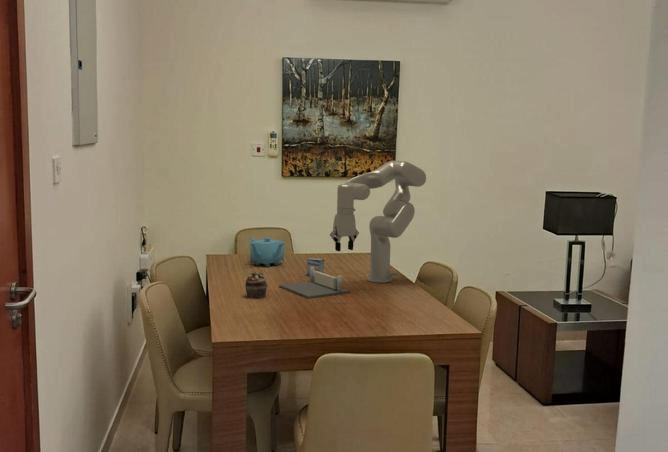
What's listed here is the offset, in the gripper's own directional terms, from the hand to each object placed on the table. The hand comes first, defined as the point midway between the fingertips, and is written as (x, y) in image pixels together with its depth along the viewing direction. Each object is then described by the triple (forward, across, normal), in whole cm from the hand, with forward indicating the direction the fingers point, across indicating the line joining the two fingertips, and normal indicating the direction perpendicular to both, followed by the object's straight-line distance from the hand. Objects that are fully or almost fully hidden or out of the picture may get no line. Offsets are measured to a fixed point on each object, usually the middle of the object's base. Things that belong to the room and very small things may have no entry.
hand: (344, 250), depth 294 cm
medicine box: (+18, -2, -28) cm, 33 cm away
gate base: (+18, +14, -2) cm, 23 cm away
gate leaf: (+16, +8, -2) cm, 18 cm away
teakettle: (+18, +6, -65) cm, 68 cm away
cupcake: (+18, +42, -5) cm, 46 cm away
